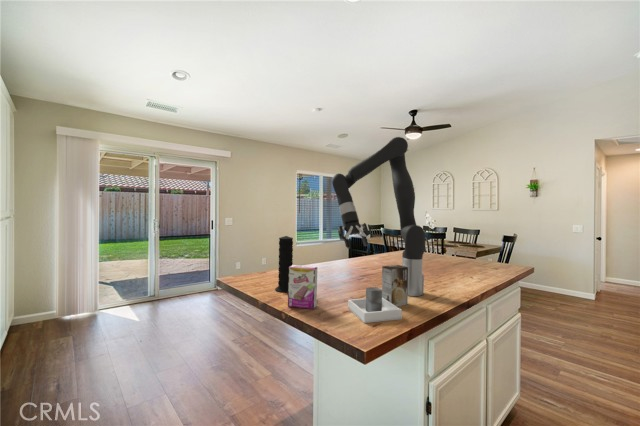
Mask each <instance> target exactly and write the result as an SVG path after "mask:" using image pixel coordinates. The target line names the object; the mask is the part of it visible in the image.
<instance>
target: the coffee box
mask: <svg viewBox="0 0 640 426" xmlns="http://www.w3.org/2000/svg"><path fill="white" fill-rule="evenodd" d="M381 269H382V270H381V279H382V280H381V290H382V298H384V299H385V300H387V301H389V302H390V303H392V304H393V305H395V306H396V307H400V306H406V305H408V300H409V298H408V267H405V266H402V264H401V265H400V264H391V265H382V267H381Z"/></svg>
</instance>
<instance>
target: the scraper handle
mask: <svg viewBox="0 0 640 426" xmlns="http://www.w3.org/2000/svg"><path fill="white" fill-rule="evenodd" d="M365 298H366V311H367V312H376V311H382V288H380V287H378V286H372V287H371V286H370V287H369V286H368V287H365Z"/></svg>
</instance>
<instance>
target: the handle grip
mask: <svg viewBox="0 0 640 426" xmlns="http://www.w3.org/2000/svg"><path fill="white" fill-rule="evenodd" d="M278 245H279V246H278V275H277V277H278V282H277V284H278V286H276V287H275V289H274V291H275V292H277V293H283V294H285V293H286V294H288V280H289V267H290V266H291V265H294V263H293V260H294V259H293V257H294V255H293V253H294V246H293V245H294V238H293V237H290V236H288V235H284V236H281V237H279V238H278Z"/></svg>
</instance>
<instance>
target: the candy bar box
mask: <svg viewBox="0 0 640 426" xmlns="http://www.w3.org/2000/svg"><path fill="white" fill-rule="evenodd" d="M317 294H318V266H313V265H312V266H311V265H299V264H298V265H297V264H292V265H291V266H290V267H289V280H288V292H287V307H289V308H297V309H299V308H300V309H307V310H308V309H309V310H314V309H315V308H316V307H317V303H318V302H317V298H318V297H317V296H318V295H317Z"/></svg>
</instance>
